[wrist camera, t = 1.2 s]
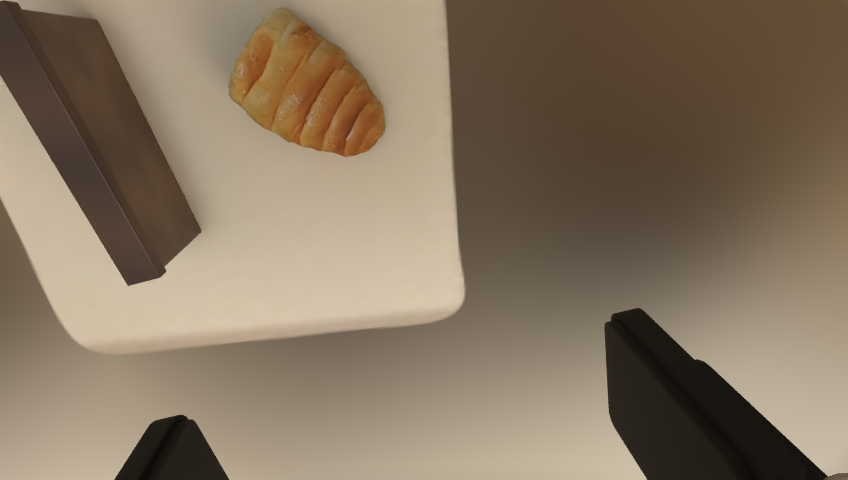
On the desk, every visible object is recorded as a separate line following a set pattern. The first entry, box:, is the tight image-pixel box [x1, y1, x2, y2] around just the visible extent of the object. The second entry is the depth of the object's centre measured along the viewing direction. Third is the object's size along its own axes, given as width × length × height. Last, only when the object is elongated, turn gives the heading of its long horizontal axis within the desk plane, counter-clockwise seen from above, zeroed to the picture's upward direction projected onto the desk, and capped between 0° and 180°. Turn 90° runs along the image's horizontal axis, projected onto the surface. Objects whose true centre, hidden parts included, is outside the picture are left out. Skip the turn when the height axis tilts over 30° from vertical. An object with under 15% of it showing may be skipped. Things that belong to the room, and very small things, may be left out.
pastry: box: [229, 8, 385, 157], centre depth 26 cm, size 9×7×4 cm
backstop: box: [0, 1, 201, 286], centre depth 25 cm, size 14×5×7 cm, turn 13°
